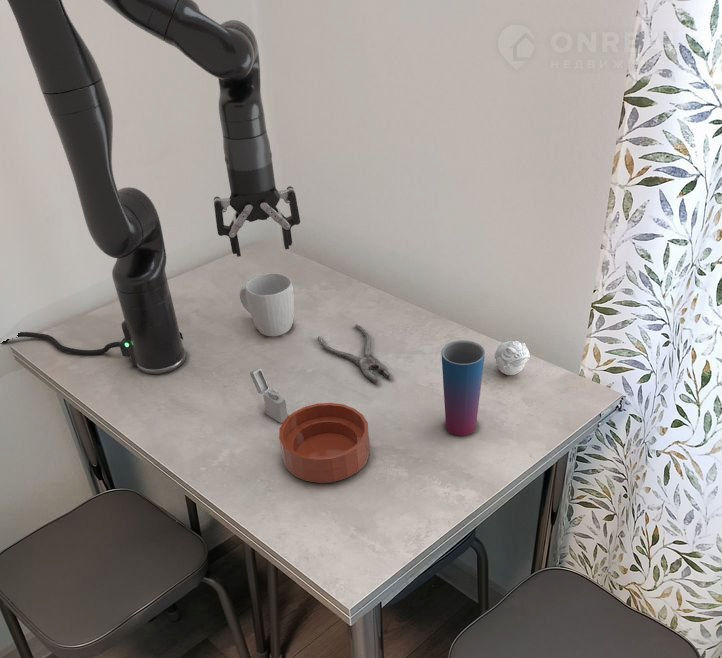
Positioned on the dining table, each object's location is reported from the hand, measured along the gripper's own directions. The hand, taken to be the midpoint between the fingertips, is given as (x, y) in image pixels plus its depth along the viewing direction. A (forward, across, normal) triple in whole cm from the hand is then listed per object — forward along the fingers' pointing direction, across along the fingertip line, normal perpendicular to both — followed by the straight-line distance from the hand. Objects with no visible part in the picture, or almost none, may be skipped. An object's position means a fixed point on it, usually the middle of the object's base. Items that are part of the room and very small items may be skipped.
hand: (262, 251), depth 143 cm
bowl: (+21, -4, +33) cm, 39 cm away
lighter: (+22, +3, +19) cm, 29 cm away
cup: (+22, -27, +31) cm, 47 cm away
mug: (+22, +1, -10) cm, 24 cm away
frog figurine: (+22, -40, +19) cm, 50 cm away
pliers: (+21, -16, +5) cm, 27 cm away
